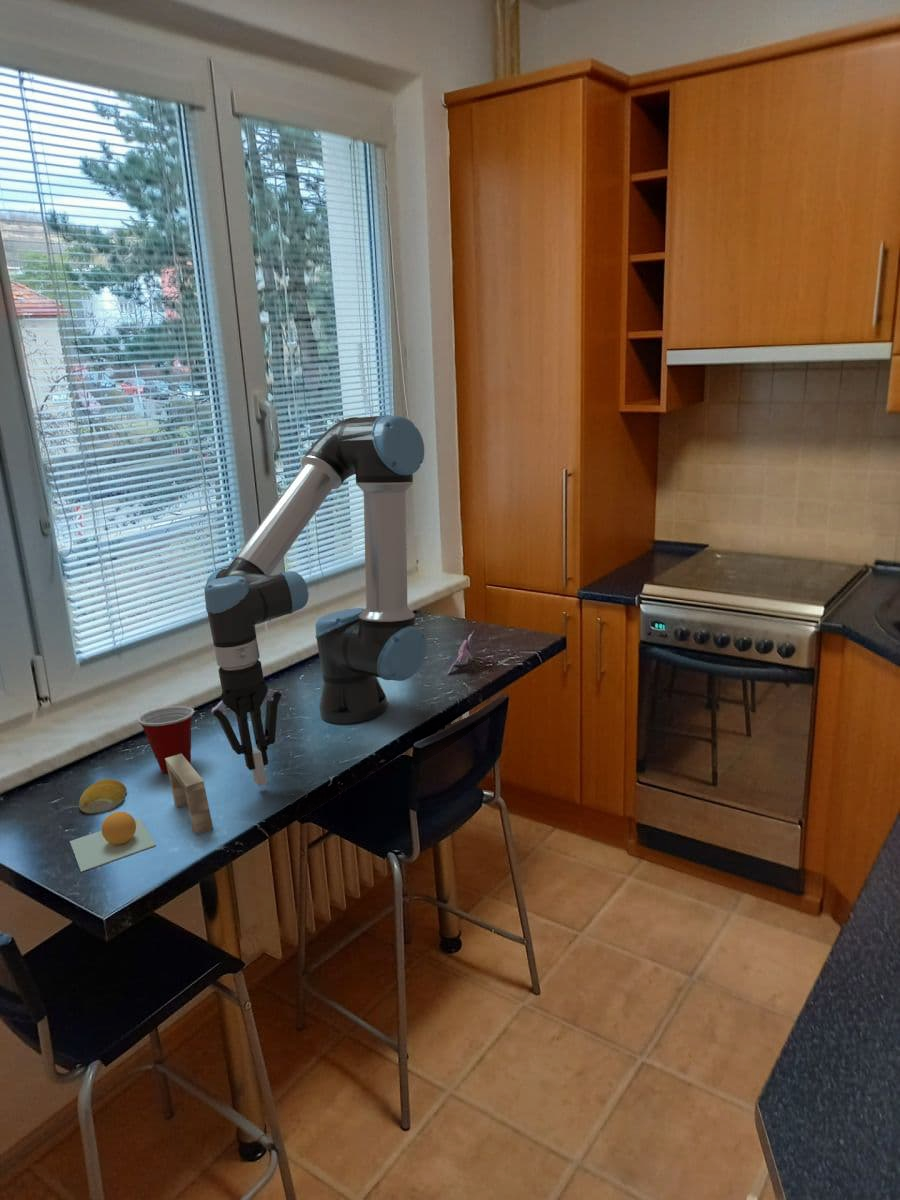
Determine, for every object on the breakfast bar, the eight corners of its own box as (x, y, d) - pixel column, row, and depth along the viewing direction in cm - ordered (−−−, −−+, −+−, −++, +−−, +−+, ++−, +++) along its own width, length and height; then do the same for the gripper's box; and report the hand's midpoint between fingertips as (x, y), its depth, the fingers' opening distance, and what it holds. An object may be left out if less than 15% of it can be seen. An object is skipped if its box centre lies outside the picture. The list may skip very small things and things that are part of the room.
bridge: (190, 798, 161) (181, 753, 159) (213, 828, 149) (203, 780, 146) (174, 803, 160) (165, 758, 157) (196, 835, 147) (186, 786, 145)
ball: (91, 829, 147) (118, 842, 150) (98, 841, 143) (126, 854, 146) (111, 801, 148) (138, 815, 151) (119, 812, 144) (146, 826, 147)
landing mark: (140, 818, 155) (140, 817, 155) (155, 845, 145) (155, 844, 145) (69, 842, 150) (69, 841, 150) (81, 872, 140) (80, 871, 140)
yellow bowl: (129, 788, 168) (125, 769, 167) (123, 809, 160) (118, 790, 159) (85, 796, 167) (80, 778, 166) (76, 818, 158) (71, 799, 157)
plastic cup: (215, 759, 176) (205, 705, 173) (175, 783, 168) (163, 727, 164) (178, 752, 182) (168, 699, 179) (137, 775, 173) (125, 720, 170)
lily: (471, 661, 221) (449, 632, 219) (504, 649, 213) (481, 619, 211) (450, 690, 213) (427, 661, 211) (483, 679, 205) (460, 649, 203)
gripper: (209, 678, 147) (232, 801, 154) (281, 658, 154) (300, 778, 160) (197, 667, 154) (220, 786, 160) (266, 649, 160) (286, 764, 166)
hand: (260, 782), depth 160 cm, fingers closed
